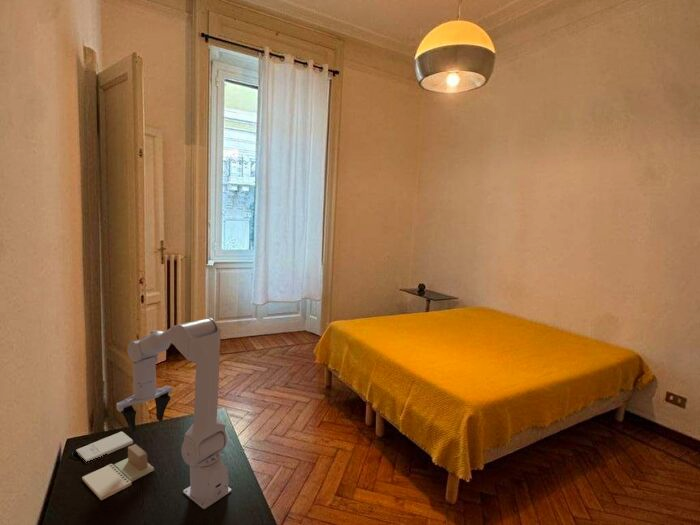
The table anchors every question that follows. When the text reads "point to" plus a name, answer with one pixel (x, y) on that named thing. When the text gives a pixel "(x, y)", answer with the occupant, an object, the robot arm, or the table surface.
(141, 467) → the stub
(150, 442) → the table surface
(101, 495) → the board
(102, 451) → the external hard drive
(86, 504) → the table surface
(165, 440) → the table surface
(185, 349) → the robot arm
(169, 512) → the table surface
